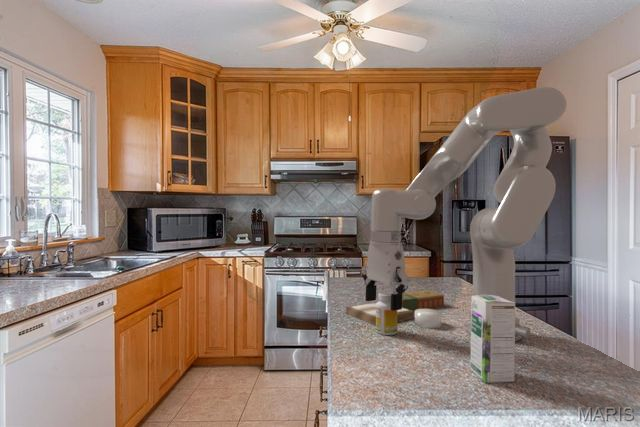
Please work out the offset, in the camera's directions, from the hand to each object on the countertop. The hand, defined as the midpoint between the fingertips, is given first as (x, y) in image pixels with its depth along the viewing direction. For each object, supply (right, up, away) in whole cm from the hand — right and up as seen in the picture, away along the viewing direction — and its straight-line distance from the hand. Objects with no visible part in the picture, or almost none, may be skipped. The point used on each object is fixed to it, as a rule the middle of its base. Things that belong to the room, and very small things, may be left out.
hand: (382, 305), depth 92 cm
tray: (+2, -7, +14) cm, 16 cm away
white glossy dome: (+13, -7, +6) cm, 16 cm away
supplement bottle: (+1, -7, 0) cm, 7 cm away
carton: (+15, -7, +26) cm, 31 cm away
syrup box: (+16, -7, -25) cm, 30 cm away
